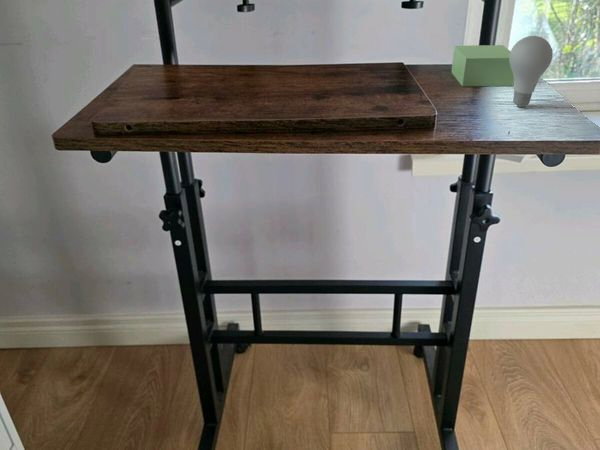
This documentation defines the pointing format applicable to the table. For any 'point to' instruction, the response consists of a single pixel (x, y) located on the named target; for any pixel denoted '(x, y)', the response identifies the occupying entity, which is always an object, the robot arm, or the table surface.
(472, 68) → the green block
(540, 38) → the lightbulb
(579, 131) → the table surface
